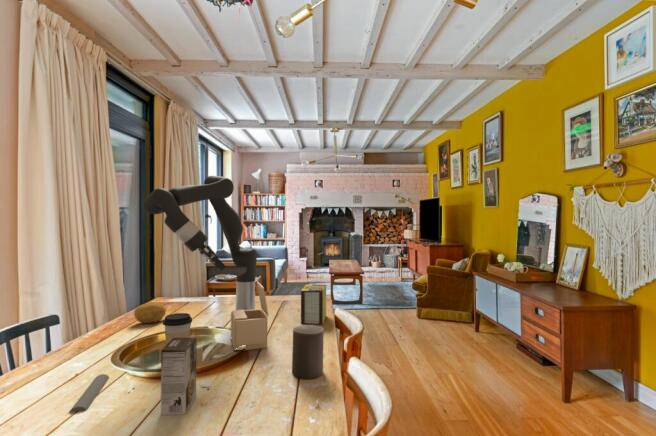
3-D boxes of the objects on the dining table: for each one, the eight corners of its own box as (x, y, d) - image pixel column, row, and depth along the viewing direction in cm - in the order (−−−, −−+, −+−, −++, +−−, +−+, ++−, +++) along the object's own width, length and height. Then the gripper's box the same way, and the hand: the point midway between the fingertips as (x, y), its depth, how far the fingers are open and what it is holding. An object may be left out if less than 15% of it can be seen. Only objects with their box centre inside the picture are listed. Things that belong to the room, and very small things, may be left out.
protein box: (326, 315, 179) (326, 284, 179) (322, 324, 163) (323, 290, 163) (305, 315, 180) (305, 284, 180) (300, 323, 164) (300, 290, 164)
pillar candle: (299, 382, 105) (300, 331, 106) (287, 369, 114) (288, 322, 114) (328, 376, 110) (329, 327, 110) (314, 364, 119) (315, 319, 119)
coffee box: (172, 397, 96) (173, 337, 96) (197, 396, 97) (197, 336, 97) (159, 415, 87) (160, 349, 87) (186, 414, 87) (187, 348, 88)
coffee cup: (198, 357, 123) (198, 314, 123) (176, 367, 115) (176, 321, 115) (178, 353, 127) (178, 311, 127) (155, 362, 119) (155, 317, 119)
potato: (168, 302, 165) (162, 297, 172) (136, 308, 157) (131, 302, 164) (168, 322, 166) (163, 316, 173) (137, 329, 158) (132, 322, 165)
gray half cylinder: (110, 379, 108) (110, 373, 108) (87, 412, 89) (87, 405, 89) (94, 380, 107) (94, 374, 107) (67, 415, 88) (67, 407, 88)
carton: (230, 338, 143) (230, 309, 143) (260, 335, 147) (260, 307, 147) (234, 351, 129) (234, 319, 129) (267, 347, 133) (267, 316, 133)
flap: (261, 307, 147) (256, 281, 146) (262, 307, 147) (258, 281, 146) (267, 316, 134) (262, 287, 133) (269, 316, 134) (264, 287, 134)
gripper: (201, 228, 124) (233, 261, 129) (197, 229, 137) (226, 259, 142) (184, 243, 122) (217, 276, 126) (181, 242, 135) (211, 272, 139)
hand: (221, 267), depth 134 cm, fingers open, 8 cm apart
